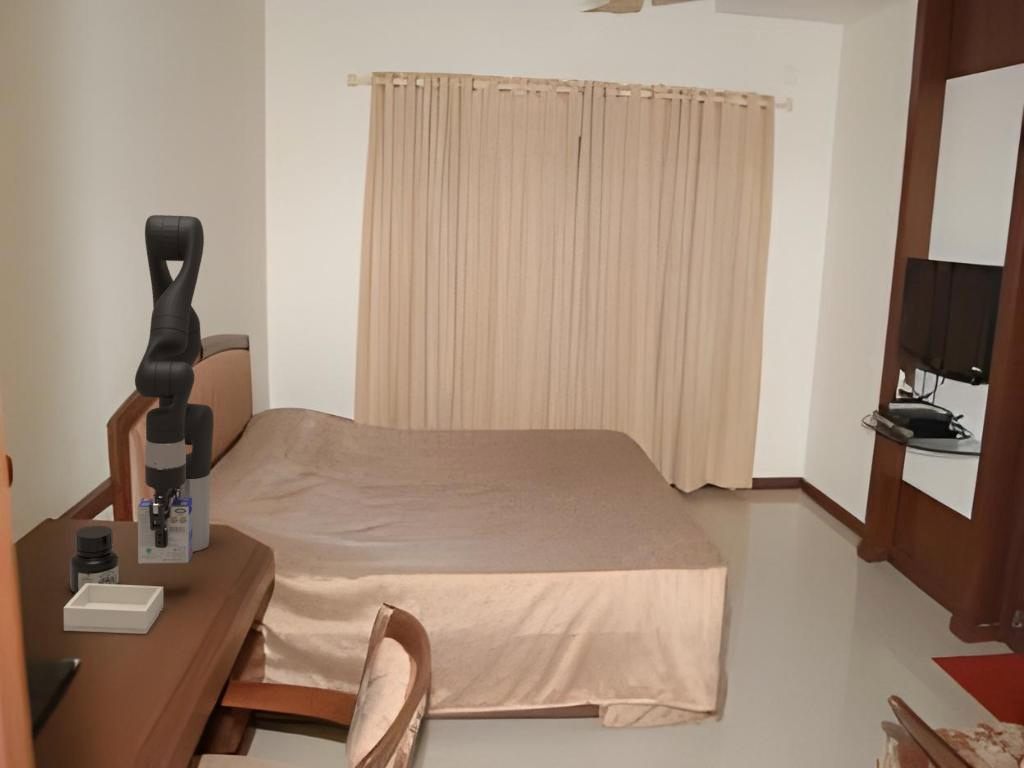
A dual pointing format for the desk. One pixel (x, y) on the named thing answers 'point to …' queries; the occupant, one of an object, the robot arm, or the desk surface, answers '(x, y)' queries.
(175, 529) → the ink cartridge box
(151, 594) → the tray
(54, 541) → the desk surface
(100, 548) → the ink bottle
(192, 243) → the robot arm
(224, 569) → the desk surface
